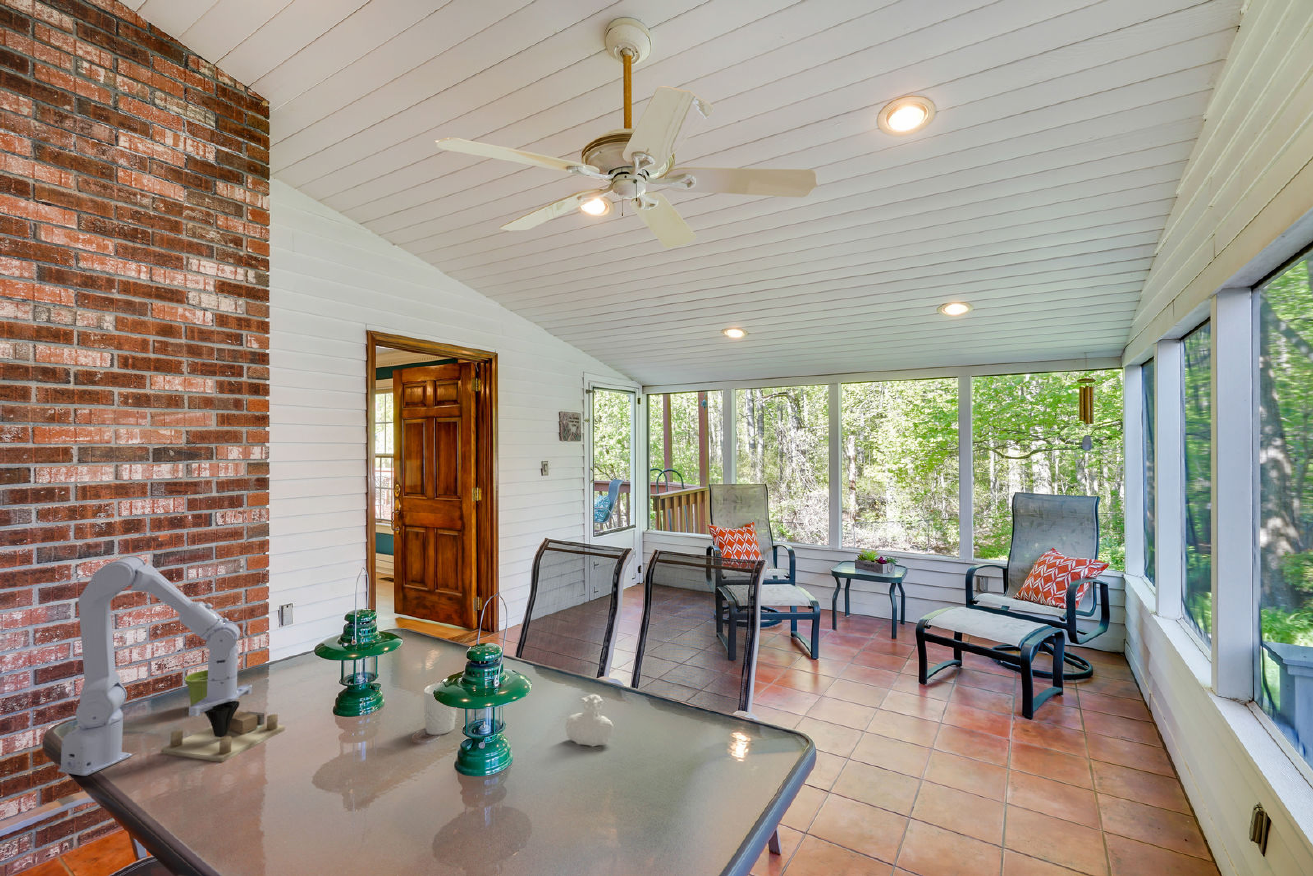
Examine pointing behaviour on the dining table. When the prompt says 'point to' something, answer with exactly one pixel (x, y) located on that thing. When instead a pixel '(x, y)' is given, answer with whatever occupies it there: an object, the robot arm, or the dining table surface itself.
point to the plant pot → (197, 686)
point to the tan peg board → (222, 741)
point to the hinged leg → (243, 722)
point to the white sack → (589, 724)
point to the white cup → (437, 714)
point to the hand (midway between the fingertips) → (220, 735)
